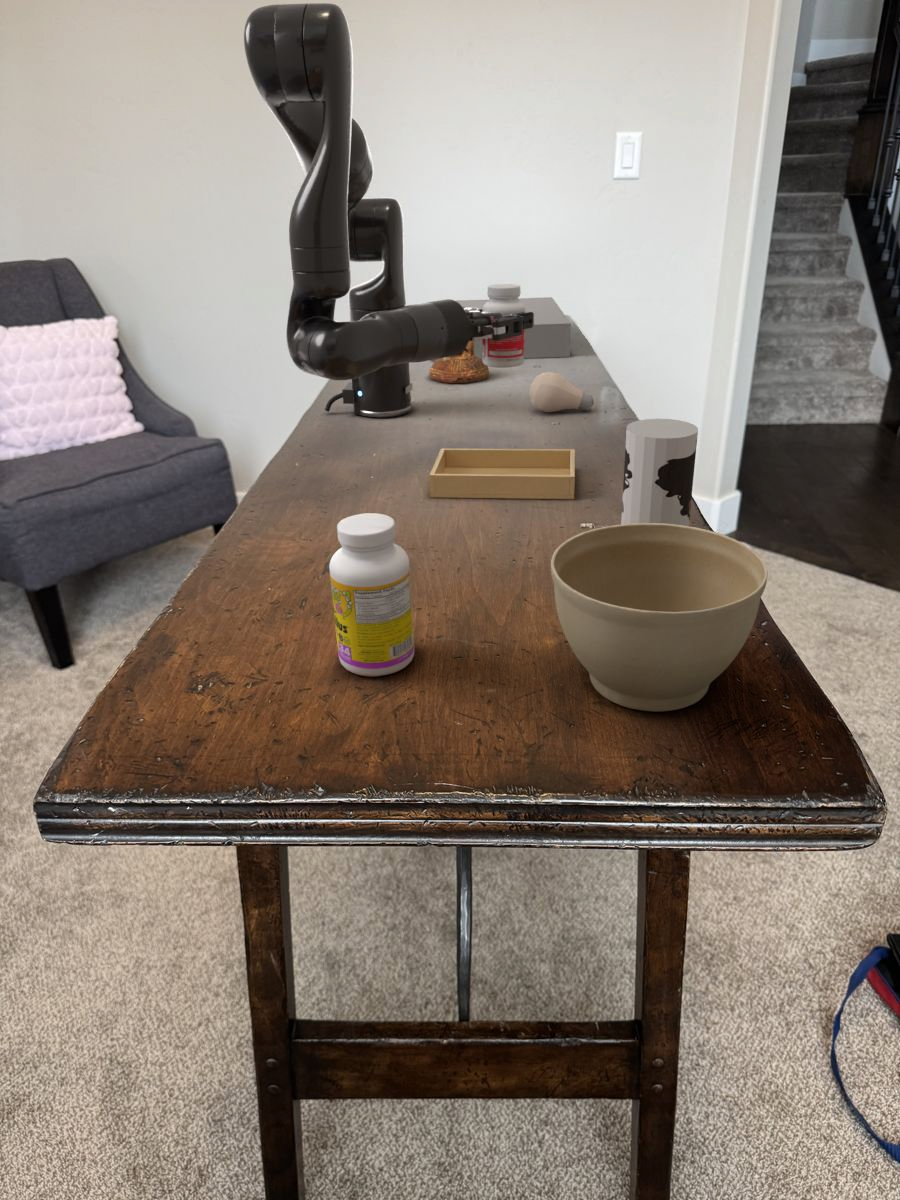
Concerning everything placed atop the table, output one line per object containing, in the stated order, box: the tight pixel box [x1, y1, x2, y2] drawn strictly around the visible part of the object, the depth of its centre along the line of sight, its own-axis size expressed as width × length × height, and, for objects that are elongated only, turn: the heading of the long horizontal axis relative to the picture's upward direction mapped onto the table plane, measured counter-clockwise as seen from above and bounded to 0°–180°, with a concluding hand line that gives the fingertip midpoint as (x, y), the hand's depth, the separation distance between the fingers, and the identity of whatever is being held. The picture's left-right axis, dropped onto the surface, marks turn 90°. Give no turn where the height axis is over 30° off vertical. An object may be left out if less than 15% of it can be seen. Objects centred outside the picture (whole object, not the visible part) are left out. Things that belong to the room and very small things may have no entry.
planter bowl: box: [550, 523, 769, 713], centre depth 71 cm, size 16×16×11 cm
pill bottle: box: [482, 283, 525, 369], centre depth 129 cm, size 6×6×11 cm
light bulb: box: [528, 371, 595, 413], centre depth 147 cm, size 7×7×11 cm
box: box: [432, 296, 572, 362], centre depth 200 cm, size 35×29×7 cm
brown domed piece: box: [428, 341, 490, 384], centre depth 171 cm, size 12×12×7 cm
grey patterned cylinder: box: [620, 418, 699, 527], centre depth 89 cm, size 7×7×15 cm
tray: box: [429, 447, 576, 500], centre depth 117 cm, size 18×11×3 cm, turn 83°
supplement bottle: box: [328, 512, 415, 677], centre depth 75 cm, size 7×7×13 cm
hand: (514, 316), depth 130 cm, fingers closed on pill bottle, 6 cm apart
